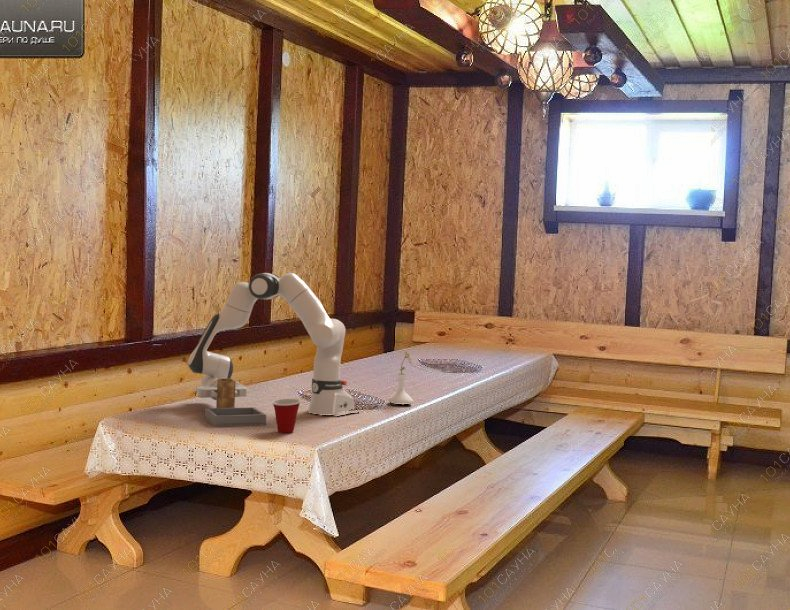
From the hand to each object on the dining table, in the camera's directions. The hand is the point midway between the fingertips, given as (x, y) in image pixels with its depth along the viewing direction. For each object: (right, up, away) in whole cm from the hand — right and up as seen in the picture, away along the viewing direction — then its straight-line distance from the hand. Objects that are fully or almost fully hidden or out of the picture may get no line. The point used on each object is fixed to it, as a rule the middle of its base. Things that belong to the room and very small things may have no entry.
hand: (226, 395), depth 417 cm
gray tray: (+5, -9, -12) cm, 16 cm away
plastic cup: (+26, -12, -26) cm, 39 cm away
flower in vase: (+70, -8, +46) cm, 84 cm away
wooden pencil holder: (-1, -8, +1) cm, 8 cm away
